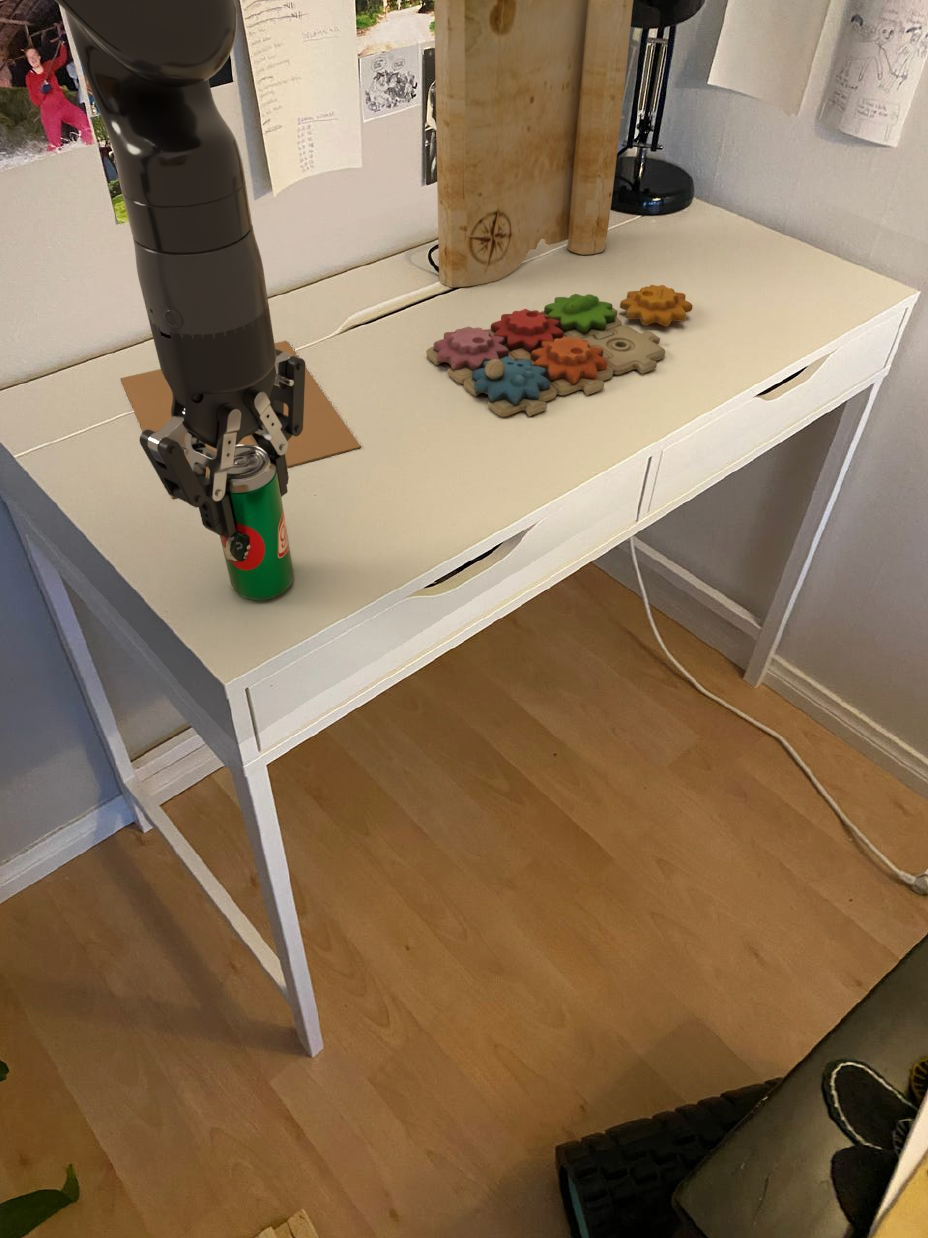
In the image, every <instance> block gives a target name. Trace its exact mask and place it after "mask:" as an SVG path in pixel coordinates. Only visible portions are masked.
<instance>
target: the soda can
mask: <svg viewBox="0 0 928 1238" xmlns="http://www.w3.org/2000/svg"><path fill="white" fill-rule="evenodd" d="M209 476H210V470H208V473H207V478H209ZM225 494H227V495H228V496H229V501H230V506H231V511H232V515H233V520H234V525H235V529H236V532H235V533H234V534H232V535H231V536H230V537H229V538H226V537H223V536H222V535H219V539H220V542H221V547H222V552H223V556H224V561H225V564H226V569H227V573H228V577H229V582H230V586H231V588H232V590H234V592H236V594H238V595H239V596H242V597H244V598H246V599H249V600H253V601H266V600H270V599H273V598H276V597H278V596H280V595H281V594H282V593H284V592H285V591H286V590H287V589H288V588H289V587H290V586H291V585H292V583H293V580H294V576H295V571H294V566H293V560H292V554H291V547H290V541H289V534H288V529H287V523H286V517H285V511H284V510H285V509H284V505H283V504H284V503H283V498H282V497H281V492H280V486H279V480H278V473H277V468H276V465H275V464H274V462H273V461H272V460H271V459H270V457H269V455H268V453H267V452H266V451H265V450H264V449H262V448H260V447H258V446H255V445H249V444H238V445H236V446H235V454H234V464H233V467H232V468H231V469H228V471H227V478H226V489H225Z"/></svg>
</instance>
